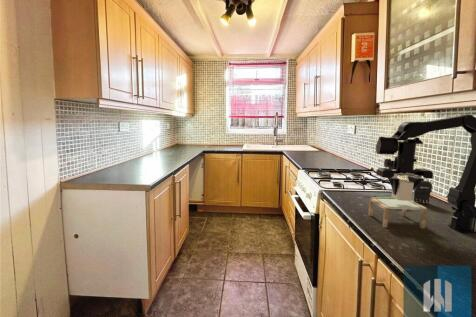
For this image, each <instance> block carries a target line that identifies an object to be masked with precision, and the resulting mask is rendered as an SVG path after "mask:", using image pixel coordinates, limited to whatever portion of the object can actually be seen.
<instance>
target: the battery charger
mask: <svg viewBox="0 0 476 317" xmlns="http://www.w3.org/2000/svg"><path fill="white" fill-rule="evenodd" d="M432 190H433V183H432V182H431V181H429V180H424V181H421V182H420V183H419V184H418V185H417V186H416V188H415V189H414V190H413V194H412V201H414V202H416V203H418V204H420V205H429V204H430V196H431V193H432Z"/></svg>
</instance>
